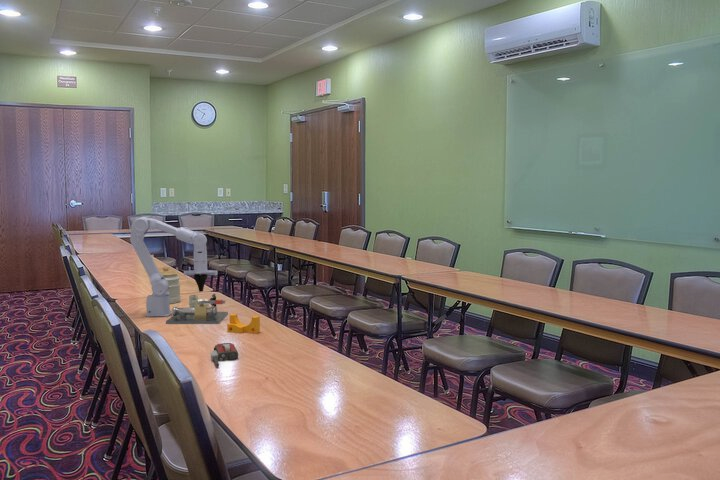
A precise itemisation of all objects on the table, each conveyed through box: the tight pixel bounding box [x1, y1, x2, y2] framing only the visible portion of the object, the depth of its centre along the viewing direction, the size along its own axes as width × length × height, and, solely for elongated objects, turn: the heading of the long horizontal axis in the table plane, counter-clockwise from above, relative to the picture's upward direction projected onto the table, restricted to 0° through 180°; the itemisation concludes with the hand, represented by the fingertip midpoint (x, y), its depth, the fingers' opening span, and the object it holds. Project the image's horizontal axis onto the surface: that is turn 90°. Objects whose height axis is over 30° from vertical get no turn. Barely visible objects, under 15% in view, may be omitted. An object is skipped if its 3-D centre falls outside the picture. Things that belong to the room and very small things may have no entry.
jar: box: [158, 265, 181, 305], centre depth 289 cm, size 13×13×18 cm
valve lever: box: [200, 299, 226, 306], centre depth 253 cm, size 11×2×2 cm, turn 90°
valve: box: [188, 293, 217, 308], centre depth 274 cm, size 7×7×12 cm
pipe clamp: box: [226, 313, 261, 334], centre depth 233 cm, size 12×4×6 cm, turn 70°
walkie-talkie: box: [210, 342, 239, 367], centre depth 198 cm, size 9×4×20 cm
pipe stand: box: [165, 304, 228, 325], centre depth 254 cm, size 22×18×6 cm
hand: (201, 291), depth 265 cm, fingers closed
